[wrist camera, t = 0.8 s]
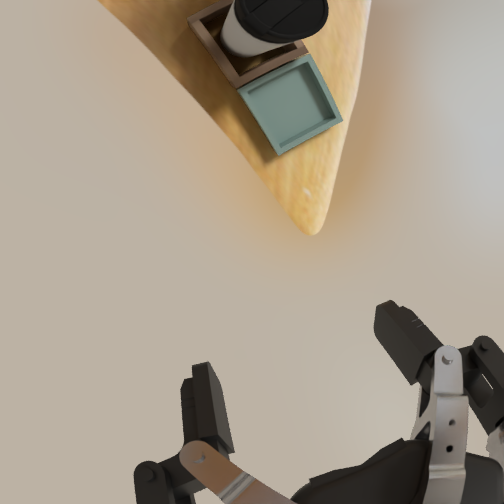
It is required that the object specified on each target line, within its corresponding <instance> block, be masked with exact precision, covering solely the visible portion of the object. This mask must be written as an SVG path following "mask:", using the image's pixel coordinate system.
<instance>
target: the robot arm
mask: <svg viewBox="0 0 504 504" xmlns="http://www.w3.org/2000/svg"><path fill="white" fill-rule="evenodd" d="M374 333H375V336H376V338H377V339H378V341H379V342H380V343H381V345H382V346H383V347H384V349H385V350H386V351H387V353H388V354H389V355H390V357H391V358H392V359H393V361H394V362H395V364H396V365H397V367H398V368H399V369H400V371H401V372H402V374H403V375H404V376H405V378H406V379H407V381H408V382H409V383H410V385H413V384H415V383H416V382H419V383H420V389H419V399H418V408H417V416H416V422H415V425H414V427H413V430H412V433H411V438H410V440H407V441H404V440H403V438H401V439H399V440H397V441H395V442H393V443H391V444H389V445H388V446H386V447H384V448H382V449H380V450H379V451H378V452H377V453H376V454H375V455H373V456H372V457H371V458H369V459H368V460H367V461H366V462H364V463H363V464H361V465H359V466H354V467H349V468H344V469H338V470H333V471H330V472H327V473H325V474H322V475H319V476H316V477H314V478H311V479H309V480H310V482H309V483H308V484H306V485H305V486H303V487H302V488H300V489H299V490H298V491H297V492H296V493H295V494H294V495H293V496H292V498H291V499H288V498H286V497H285V496H283V495H281V494H279V493H278V492H276V491H274V490H273V489H271V488H270V487H268V486H266V485H265V484H263V483H262V482H260V481H259V480H257V479H256V478H254V477H253V476H251V475H249V474H247V473H246V472H244V471H243V470H242V469H240V468H239V467H237V466H236V465H235V464H233V463H232V462H231V461H230V459H229V455H228V454H230V453H234V452H235V451H234V447H233V442H232V437H231V433H230V428H229V423H228V418H227V413H226V408H225V402H224V397H223V392H222V388H221V384H220V382H219V379H218V378H217V376H216V374H215V372H214V370H213V368H212V367H211V364H210V363H209V362H204V363H200V364H196V365H192V375H193V377H192V378H187V379H184V381H183V384H182V387H181V389H180V390H181V401H182V402H181V406H182V420H183V432H184V444H183V447H182V449H181V450H180V452H179V453H178V454H177V455H175V456H173V457H171V458H169V459H167V460H164V461H162V462H160V463H155V462H153V461H145V462H142V463H140V464H139V465H138V466H137V467H136V468H135V471H134V484H135V494H136V502H137V504H196V503H195V499H194V493H196V492H198V491H201V490H203V489H205V488H208V489H210V490H211V491H212V492H213V493H214V494H216V495H217V496H218V497H219V498H220V499H221V500H222V501H223V502H224V503H225V504H504V353H503V352H502V350H501V349H500V348H499V347H498V346H497V344H496V343H495V342H494V341H493V340H492V339H491V338H489V337H488V336H479V337H477V338H476V339H475V340H474V342H473V344H472V345H471V346H467V347H464V348H460V349H456V348H455V347H453V346H448V345H447V346H444V345H443V344H442V343H441V342H440V341H439V340H438V338H436V336H435V335H434V334H433V333H432V332H431V331H430V330H429V329H428V327H427V326H426V325H424V324H423V322H422V321H421V320H420V319H418V317H417V316H416V315H415V313H414V312H413V311H412V310H410V309H407V308H406V307H404V306H402V307H399V306H398V305H397V304H396V303H395V302H394V301H392V300H389V301H387V302H384V303H382V304H380V305H378V306H377V307H376V313H375V321H374ZM482 374H483V375H484V376H485V378H486V379H487V380H488V382H489V383H490V385H491V386H492V388H493V389H492V388H491V387H490V385H489V384H488V382H487V381H486V380H485V378H484V377H483V375H482ZM468 404H469V405H470V407H471V408H472V410H473V411H474V413H475V414H476V416H477V418H478V419H479V421H480V423H481V424H482V426H483V428H484V429H485V431H486V433H487V434H488V436H489V437H488V441H487V446H486V450H487V451H488V452H489V453H490V454H489V457H484V456H480V455H476V454H472V453H468V452H466V445H467V433H468V407H469V405H468Z"/></svg>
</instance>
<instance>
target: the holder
mask: <svg viewBox="0 0 504 504" xmlns="http://www.w3.org/2000/svg"><path fill="white" fill-rule="evenodd" d="M233 1H234V0H220V1H218V2H216V3H214V4H212V5H210V6H208V7H206V8H204V9H202V10H200V11H199V12H197V13H195V14H193V15H191V16H190V17H188V18H187V21H188V25H189V27H190V28H191V29H192V31H193V32H194V33H195V35H196V36H197V37H198V39H199V40H200V41H201V43H202V44H203V45H204V47H205V48H206V49H207V51H208V52H209V54H210V55H211V56H212V58H213V59H214V61H215V62H216V64H217V65H218V66H219V68H220V69H221V71H222V72H223V74H224V75H225V77H226V78H227V79H228V81H229V82H230V84H231V85H232V87H235V88H238V87H240V86H241V85H243V84H245V83H247V82H249V81H250V80H252V79H254V78H256V77H258V76H260V75H262V74H264V73H266V72H268V71H270V70H272V69H274V68H276V67H278V66H280V65H282V64H284V63H286V62H288V61H290V60H293V59H295V58H297V57H299V56H302V55H304V54H306V53H309V52H308V50H307V49H306V47H305V45H304V43H303V42H302V40H298V41H296V42H293V43H290V44H287V45H284V46H283V48H284V49H285V51H286V52H283V53H281V54H279V55H277V56H275V57H273V58H271V59H269V60H267V61H265V62H263V63H261V64H259V65H257V66H255V67H253V68H251V69H249V70H247V71H245V72H243V73H241V74H240V75H238V74H237V72H236V71H235V69H234V68H233V66H232V65H231V63H230V62H229V60H228V59H227V58H226V56H225V55H224V53H223V52H222V50H221V49H220V48H219V46H218V45H217V43H216V42H215V41H214V39H213V38H212V36H211V35H210V34H209V32H208V31H207V30H206V28H205V27H204V26H203V25H204V24H206V23H208V22H210V21H212V20H214V19H216V18H218V17H220V16H222V15H224V14H226V13H228V12H229V10H230V8H231V6H232V3H233Z"/></svg>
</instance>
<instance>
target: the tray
mask: <svg viewBox="0 0 504 504" xmlns="http://www.w3.org/2000/svg"><path fill="white" fill-rule="evenodd" d="M236 90H237V92H238V93H239V95H240V96H241V98H242V99H243V101H244V102H245V104H246V106H247V107H248V109H249V110H250V112H251V113H252V115H253V117H254V118H255V120H256V121H257V123H258V125H259V126H260V128H261V130H262V131H263V133H264V134H265V136H266V138H267V139H268V141H269V143H270V144H271V146H272V148H273V149H274V151H275V152H276V153H277V154H278V156H279V155H281V154H282V153H284V152H286V151H288V150H289V149H291V148H293V147H295V146H297V145H298V144H300V143H302V142H304V141H306V140H308V139H309V138H311V137H313V136H315V135H317V134H319V133H321V132H323V131H324V130H326V129H328V128H330V127H332V126H334V125H336V124H338V123H340V122H342V121H343V119H342V117H341V115H340V112H339V110H338V108H337V106H336V104H335V101H334V99H333V97H332V95H331V93H330V91H329V89H328V87H327V85H326V83H325V81H324V79H323V77H322V75H321V73H320V71H319V69H318V67H317V66H316V64H315V62H314V60H313V58H312V56H311V55H310V54H306V55H302V56H300V57H298V58H295V59H293V60H291V61H289V62H287V63H284V64H282V65H280V66H278V67H276V68H274V69H272V70H270V71H268V72H266V73H264V74H262V75H260V76H258V77H256V78H255V79H253V80H251V81H249V82H247V83H245V84H244V85H242V86H240V87H238V88H236Z"/></svg>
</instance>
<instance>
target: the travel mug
mask: <svg viewBox="0 0 504 504" xmlns="http://www.w3.org/2000/svg"><path fill="white" fill-rule="evenodd" d="M328 9H329V8H328V3H327V0H234V1H233V3H232V6H231V8H230V10H229V13H228V15H227V18H226V20H225V23H224V25H223V28H222V30H221V33H220V40H221V43H222V46H223V47H224V49H225V50H226V51H227V52H229V53H230V54H232V55H234V56H237V57H242V58H247V57H253V56H256V55H258V54H261V53H264V52H266V51H269V50H272V49H275V48H278V47H281V46H284V45H287V44H290V43H293V42H296V41H298V40H301V39H304V38H307V37H310V36H312V35H314V34H315V33H317V32H318V31H319V30H320V29H321V28H322V27H323V26H324V24H325V23H326V21H327V17H328Z"/></svg>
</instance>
